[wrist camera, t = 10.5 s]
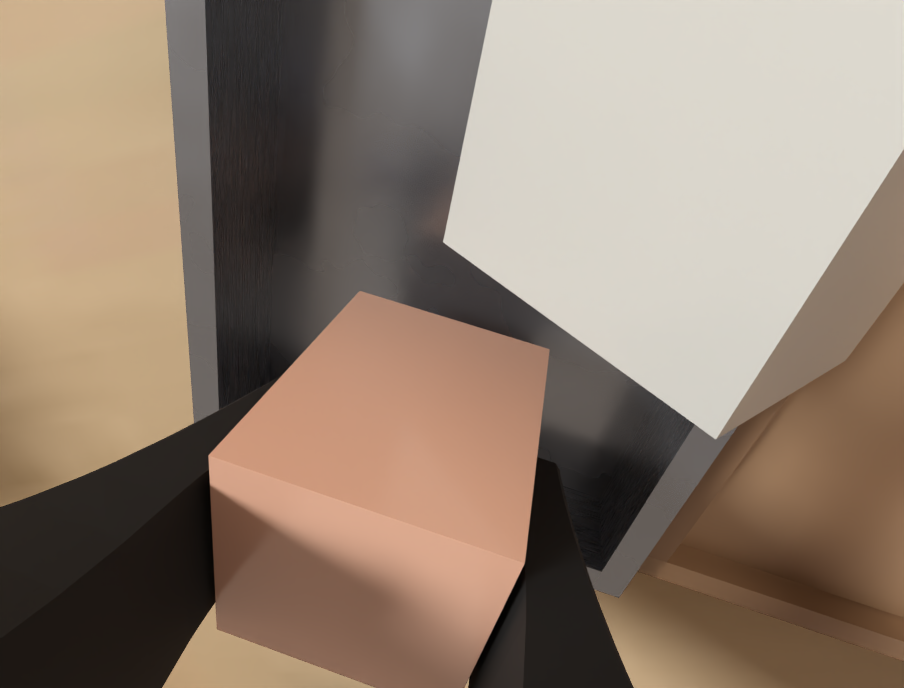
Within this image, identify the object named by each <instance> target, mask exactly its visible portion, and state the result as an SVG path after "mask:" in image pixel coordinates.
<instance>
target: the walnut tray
mask: <svg viewBox="0 0 904 688" xmlns="http://www.w3.org/2000/svg"><path fill="white" fill-rule="evenodd" d="M638 572H641V573H644V574H647V575H650V576H653V577H656V578H658V579H661V580H664V581H667V582H670V583H673V584H676V585H679V586H682V587H685V588H688V589H691V590H694V591H697V592H700V593H703V594H706V595H709V596H712V597H715V598H718V599H721V600H724V601H727V602H730V603H733V604H735V605H738V606H741V607H744V608H747V609H750V610H753V611H756V612H759V613H762V614H765V615H768V616H771V617H774V618H777V619H780V620H783V621H786V622H789V623H792V624H795V625H798V626H801V627H804V628H807V629H810V630H813V631H815V632H818V633H821V634H824V635H827V636H830V637H833V638H836V639H839V640H842V641H845V642H848V643H851V644H854V645H857V646H860V647H863V648H866V649H869V650H872V651H875V652H878V653H881V654H884V655H887V656H890V657H892V658H895V659H898V660H901V661H904V283H903V284H902V286H901V287H900V288H899V290H898V291H897V292H896V294H895V295H894V296H893V298H892V299H891V300H890V302H889V303H888V305H887V306H886V307H885V309H884V310H883V311H882V313H881V314H880V315H879V317H878V318H877V319H876V321H875V322H874V323H873V325H872V326H871V327H870V329H869V330H868V331H867V333H866V334H865V335H864V337H863V338H862V339H861V341H860V342H859V343H858V345H857V346H856V347H855V349H854V350H853V351H852V353H851V354H850V355H849V357H848V358H847V359H846V361H844V362H842V363H841V364H839V365H838V366H836V367H834V368H833V369H831V370H829V371H828V372H826V373H824V374H823V375H821V376H819V377H818V378H816V379H815V380H813V381H811V382H810V383H808V384H806V385H805V386H803V387H801V388H800V389H798V390H796V391H795V392H793V393H791V394H790V395H788V396H787V397H785V398H783V399H782V400H780V401H778V402H777V403H775V404H773V405H772V406H770V407H768V408H767V409H765V410H764V411H762V412H760V413H759V414H757V415H755V416H754V417H752V418H750V419H749V420H747V421H745V422H744V423H742V424H741V425H739V426H738V427H737V428H736V430H735V431H734V433H733V434H732V436H731V437H730V438H729V440H728V441H727V443H726V444H725V446H724V447H723V448H722V450H721V451H720V453H719V454H718V456H717V457H716V459H715V460H714V461H713V463H712V464H711V466H710V467H709V469H708V470H707V472H706V473H705V474H704V476H703V477H702V479H701V480H700V482H699V483H698V485H697V486H696V487H695V489H694V490H693V492H692V493H691V495H690V496H689V497H688V499H687V500H686V502H685V503H684V505H683V506H682V508H681V509H680V510H679V512H678V513H677V515H676V516H675V518H674V519H673V521H672V522H671V523H670V525H669V526H668V528H667V529H666V531H665V532H664V534H663V535H662V536H661V538H660V539H659V541H658V542H657V544H656V545H655V546H654V548H653V549H652V551H651V552H650V554H649V555H648V557H647V558H646V559H645V561H644V562H643V564H642V565H641V567H640V568H639V570H638Z"/></svg>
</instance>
